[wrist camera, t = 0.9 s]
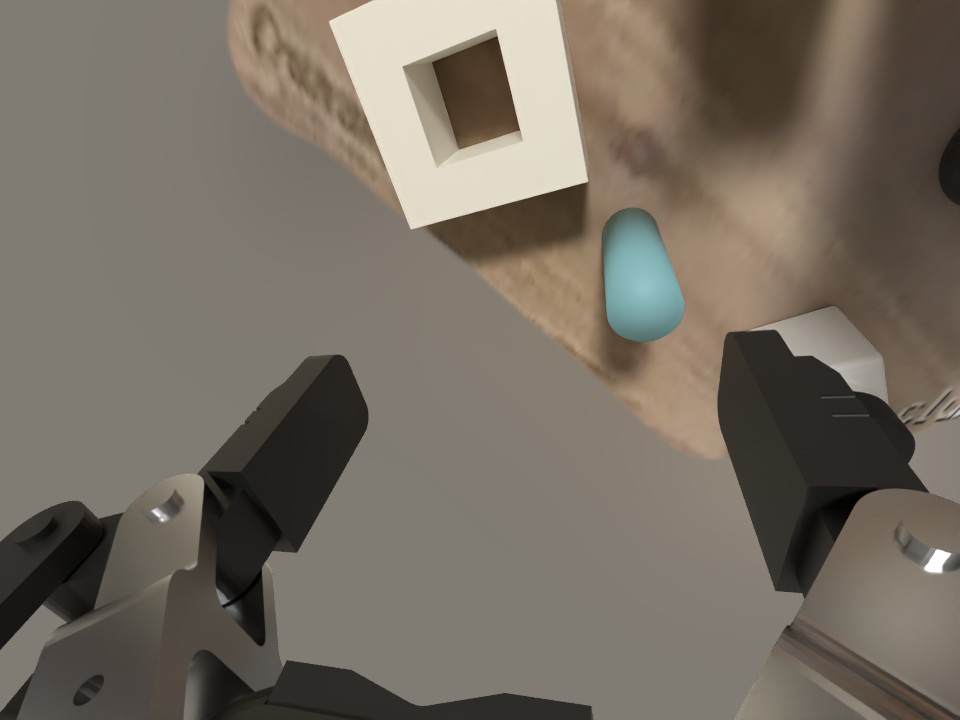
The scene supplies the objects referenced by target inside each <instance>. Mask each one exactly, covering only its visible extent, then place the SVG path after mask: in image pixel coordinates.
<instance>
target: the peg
mask: <svg viewBox="0 0 960 720" xmlns="http://www.w3.org/2000/svg"><path fill="white" fill-rule="evenodd" d="M602 245H603V261H604V278H605V295H606V312H607V319H608V322H609V324H610V326H611V328H612V329H613V330H614V331H615V332H616V333H617V334H618V335H620V336H621V337H623V338H625V339H628V340H631V341H637V342H647V341H653V340H656V339H659V338H662V337H664V336H666V335H667V334H669V333H670V332H671V331H673V330H674V329H675V328H676V327H677V325H678V324H679V323H680V321H681V319H682V317H683V314H684V309H685V304H684V299H683V296H682V293H681V290H680V288H679V285H678V282H677V279H676V276H675V274H674V271H673V268H672V265H671V263H670V260H669V257H668V254H667V251H666V249H665V246H664V243H663V240H662V238H661V235H660V232H659V229H658V226H657V224H656V221H655V219H654V218H653V216H652V215H651V214H650V213H648V212H647V211H645V210H642V209H639V208H627V209H623V210H621V211H618V212H617V213H615V214H614V215H612V216H611V217H610V218H609V220H608V221H607V222H606V224H605V226H604V228H603V232H602Z"/></svg>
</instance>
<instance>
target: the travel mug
mask: <svg viewBox="0 0 960 720" xmlns="http://www.w3.org/2000/svg"><path fill="white" fill-rule="evenodd" d="M939 179H940V184H941V187H942V189H943V191H944V193H945V194H946V195H947V196H948V198H950V199H951V200H952V201H953V202H955V203H956V204H958V205H960V129H959V130H958V131H957V133H956V134H955V135H954V137H953V138H952V140H951V141H950V143H949V145H948V146H947V148H946V150H945V152H944V155H943V157H942V160H941V164H940V170H939Z"/></svg>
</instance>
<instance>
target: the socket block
mask: <svg viewBox="0 0 960 720" xmlns="http://www.w3.org/2000/svg"><path fill="white" fill-rule="evenodd" d="M329 23H330V26H331V28H332V31H333V33H334V36H335V38H336V41H337V43H338V46H339V48H340V51H341V54H342V56H343V59H344V61H345V64H346V66H347V69H348V71H349V74H350V76H351V79H352V81H353V84H354V86H355V89H356V92H357V94H358V97H359V99H360V102H361V104H362V107H363V109H364V112H365V114H366V117H367V119H368V122H369V125H370V127H371V130H372V132H373V135H374V137H375V140H376V142H377V145H378V147H379V150H380V152H381V155H382V157H383V160H384V163H385V165H386V168H387V170H388V173H389V175H390V178H391V180H392V183H393V185H394V188H395V190H396V193H397V195H398V198H399V201H400V203H401V206H402V208H403V211H404V213H405V216H406V218H407V221H408V223H409V226H410V228H411V229H414V228H418V227H422V226H425V225H429V224H433V223H436V222H440V221H444V220H448V219H451V218H455V217H459V216H462V215H466V214H470V213H474V212H477V211H481V210H485V209H489V208H492V207H496V206H500V205H503V204H507V203H511V202H515V201H518V200H522V199H526V198H529V197H533V196H537V195H541V194H544V193H548V192H552V191H556V190H559V189H563V188H567V187H570V186H574V185H578V184H582V183H585V182H588V155H587V149H586V143H585V138H584V132H583V126H582V120H581V115H580V109H579V103H578V97H577V91H576V86H575V80H574V74H573V68H572V63H571V57H570V51H569V45H568V40H567V34H566V28H565V22H564V17H563V11H562V5H561V0H373V1H371V2H369V3H367V4H364V5H362V6H360V7H358V8H356V9H354V10H352V11H350V12H347V13H345V14H343V15H341V16H339V17H337V18H335V19H333V20H331V21H329ZM497 36H498V39H499V43H500V47H501V52H502V56H503V60H504V64H505V68H506V72H507V77H508V81H509V85H510V89H511V93H512V98H513V102H514V106H515V110H516V114H517V118H518V123H519V127H520V130H519V131H516V132H513V133H509V134H506V135H503V136H500V137H497V138H494V139H491V140H488V141H485V142H481V143H478V144H475V145H472V146H469V147H466V148H463V149H460V150H459V148H458V145H457V142H456V138H455V135H454V132H453V129H452V126H451V122H450V119H449V116H448V113H447V109H446V106H445V103H444V100H443V96H442V93H441V90H440V87H439V84H438V80H437V77H436V74H435V71H434V67H433V64H432V62H434V61H437V60H439V59H442V58H444V57H447V56H449V55H452V54H454V53H457V52H459V51H462V50H464V49H467V48H469V47H472V46H474V45H477V44H479V43H482V42H484V41H487V40H489V39H492V38H494V37H497Z"/></svg>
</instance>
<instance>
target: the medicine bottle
mask: <svg viewBox="0 0 960 720" xmlns="http://www.w3.org/2000/svg"><path fill="white" fill-rule="evenodd" d="M757 330H777V331H778V332H779V334H780V335H781V337H782V338H783V340H784V341H785V343H786V344H787V346H788V348H789V349H790V351H791V352H792V354H793V355H794V356H811V355H812V356H814V357H815V358H817V359H818V360H820V361H821V362H823V363H825V364H826V365H828V366H829V367H831V368H833V369H834V370H836V371H837V372H839V373H840V374H841V376H842V377H843V378H844V380H845V381H846V382H847V384H848V385H849V386H850V388H851V389H852V390H853V392H854V393H855V394H856V395H855V397H856V399H859V400H860V401H861V402H862V404H863V405H864V406H865V408H866V409H867V410H868V412H869V416H870V418H874V420H875V421H876V422H877V424H878V425H879V426H880V428H881V429H882V430H883V432H884V433H885V434H886V436H887V437H888V438H889V440H890V441H891V442H892V444H893V445H894V446H895V448H896V449H897V450H898V452H899V453H900V454H901V455H902V457H903V458H904V459H905V461H906V462H907V463H909V461H910V460H911V458H912V456H913V454H914V450H915V440H914V437H913V435H912V434H911V432H910V431H909V430H908V429H907V428H906V426H905V425H904V424H903V423H902V421H901V420H900V419H899V418H898V417H897V415H896V414H895V413H894V412H893V410H892V409H891V408H890V407H889V402H888V394H887V386H886V377H885V369H884V361H883V357H882V355H881V354H880V353H879V352H878V351H877V349H876V348H875V347H874V346H873V345H872V344H871V343H870V342H869V341H868V340H867V339H866V338H865V336H864V335H863V334H862V333H861V332H860V331H859V330H858V329H857V328H856V327H855V326H854V325H853V324H852V322H851V321H850V320H849V319H848V318H847V317H846V316H845V315H844V314H843V313H842V312H841V311H840V309H839V308H838V307H836V306H830V307H826V308H823V309H819V310H816V311H813V312H809V313H806V314H802V315H799V316H795V317H792V318H789V319H785V320H782V321H778V322H775V323H772V324H768V325H765V326H761V327H758V328H755V329H751V330H748V331H757Z"/></svg>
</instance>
